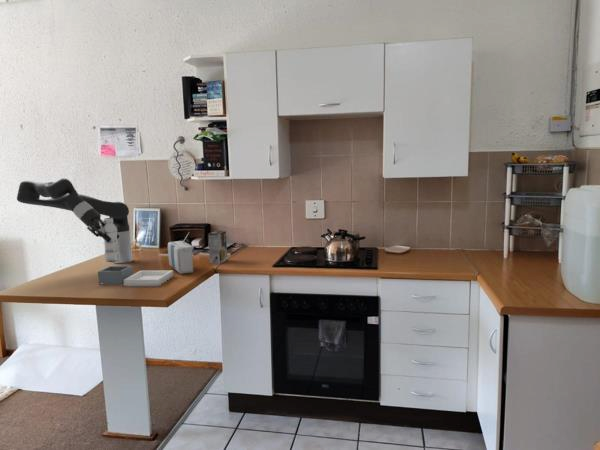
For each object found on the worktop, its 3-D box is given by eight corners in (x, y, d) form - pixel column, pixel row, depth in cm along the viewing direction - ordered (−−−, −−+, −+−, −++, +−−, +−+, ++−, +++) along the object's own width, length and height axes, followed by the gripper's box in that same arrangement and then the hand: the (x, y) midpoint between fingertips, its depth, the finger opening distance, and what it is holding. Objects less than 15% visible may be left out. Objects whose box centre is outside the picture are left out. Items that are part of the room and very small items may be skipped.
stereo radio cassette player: (168, 267, 223) (165, 229, 220) (184, 264, 227) (181, 227, 224) (178, 275, 205) (175, 234, 202) (195, 272, 209) (192, 232, 206)
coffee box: (217, 259, 236) (215, 230, 234) (227, 260, 234) (226, 230, 232) (209, 263, 227) (207, 233, 225) (220, 263, 226) (218, 233, 223)
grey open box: (99, 284, 193) (97, 271, 192) (110, 278, 203) (109, 266, 202) (122, 284, 192) (121, 271, 191) (133, 278, 202) (132, 265, 201)
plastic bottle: (104, 264, 191) (100, 219, 188) (105, 261, 197) (100, 218, 194) (120, 262, 193) (116, 218, 190) (120, 259, 200) (116, 216, 197)
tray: (124, 286, 189) (123, 279, 188) (141, 276, 204) (140, 270, 204) (159, 286, 187) (158, 279, 187) (173, 276, 203) (173, 270, 202)
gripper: (91, 217, 201) (117, 242, 201) (71, 222, 187) (99, 248, 187) (100, 206, 200) (127, 231, 200) (81, 209, 185) (110, 236, 186)
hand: (113, 239), depth 194 cm, fingers closed on plastic bottle, 6 cm apart
